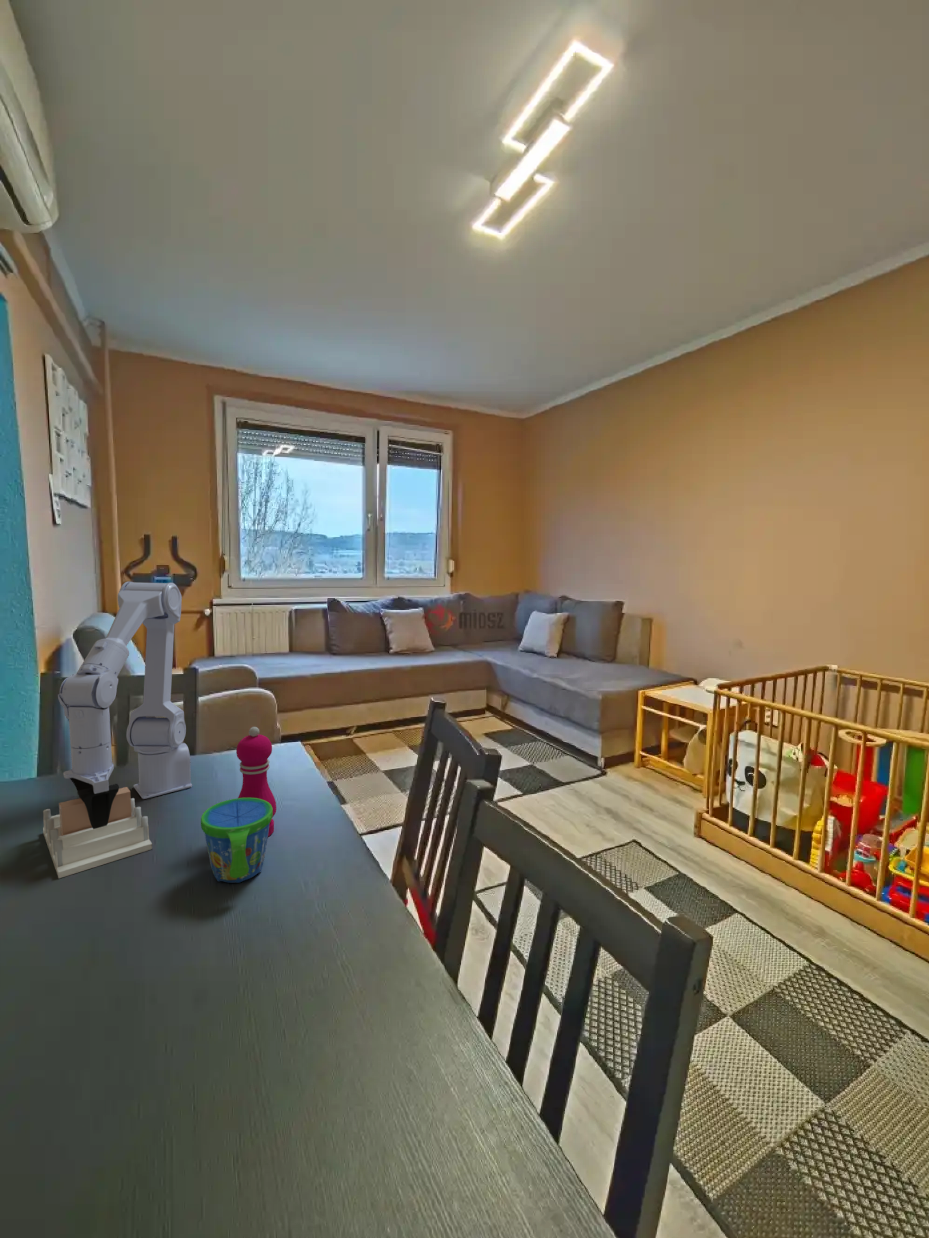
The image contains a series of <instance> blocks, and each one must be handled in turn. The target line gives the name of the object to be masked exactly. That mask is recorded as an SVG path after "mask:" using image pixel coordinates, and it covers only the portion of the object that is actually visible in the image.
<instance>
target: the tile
mask: <svg viewBox="0 0 929 1238" xmlns="http://www.w3.org/2000/svg"><path fill="white" fill-rule="evenodd" d="M58 808H59V809H58V811H59V814H60V828H61V836H63V835H67V834H70V833H74V832H78V831H81V830H85V829H89V828H92V826H91V823H90V820H89V816H88V812H87V809H86V806H85V804H84V802H83V801H82V799H81V798H75V799H70V800H67V801H66V800H65V801H61V802H58ZM129 817H132V816H131V790H130V789H129V787H128V786H124V787H121V788H120V787H119V790H118V792H117V794H116V796H115V798H114V800H113V803H112V806H111V811H110V816H109V821H108V823H111V822H114V821H118V820H122V819H125V818H129Z"/></svg>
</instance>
